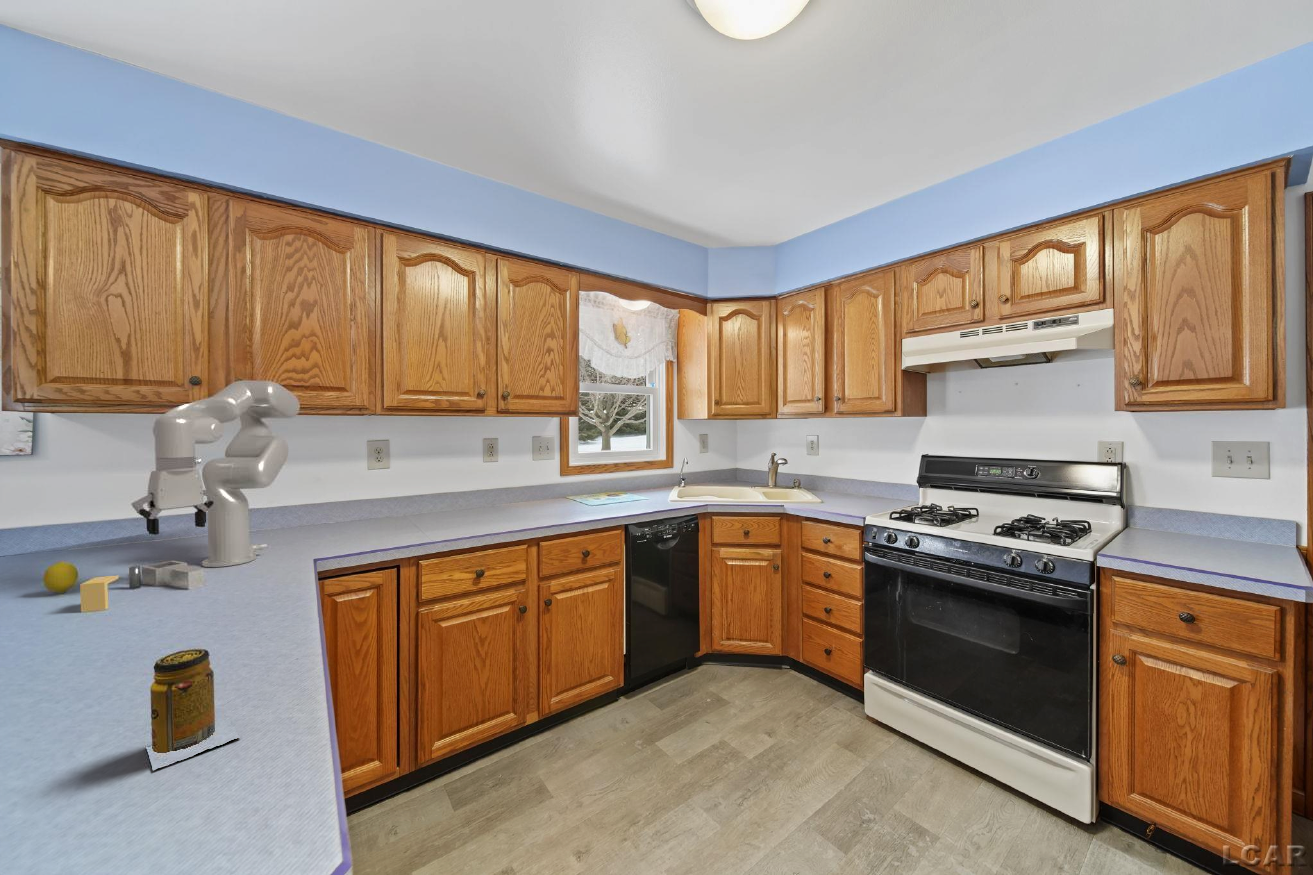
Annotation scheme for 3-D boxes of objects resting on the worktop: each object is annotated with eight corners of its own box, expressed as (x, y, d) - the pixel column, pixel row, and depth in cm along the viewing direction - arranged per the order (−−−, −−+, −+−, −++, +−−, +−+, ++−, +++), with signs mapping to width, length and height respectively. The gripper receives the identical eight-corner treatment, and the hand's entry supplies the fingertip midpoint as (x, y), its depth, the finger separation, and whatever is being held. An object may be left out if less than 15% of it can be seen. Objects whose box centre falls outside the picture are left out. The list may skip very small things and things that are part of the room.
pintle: (138, 586, 132) (137, 565, 131) (142, 587, 131) (142, 566, 131) (128, 588, 130) (127, 567, 129) (132, 589, 129) (131, 568, 129)
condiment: (145, 748, 66) (142, 657, 66) (229, 719, 73) (227, 636, 72) (152, 773, 61) (149, 675, 61) (241, 740, 68) (239, 651, 68)
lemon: (54, 598, 123) (53, 565, 123) (37, 596, 124) (36, 563, 124) (84, 590, 128) (83, 559, 128) (68, 589, 129) (67, 557, 129)
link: (212, 583, 134) (211, 567, 133) (181, 591, 127) (180, 574, 127) (173, 576, 140) (172, 560, 140) (142, 583, 134) (141, 566, 134)
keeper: (96, 604, 119) (95, 577, 118) (119, 601, 120) (118, 575, 120) (81, 612, 113) (80, 584, 113) (105, 609, 115) (104, 582, 115)
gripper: (206, 461, 142) (208, 523, 142) (123, 466, 126) (125, 535, 126) (223, 462, 139) (225, 525, 139) (139, 467, 123) (142, 538, 123)
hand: (177, 530), depth 133 cm, fingers open, 9 cm apart
